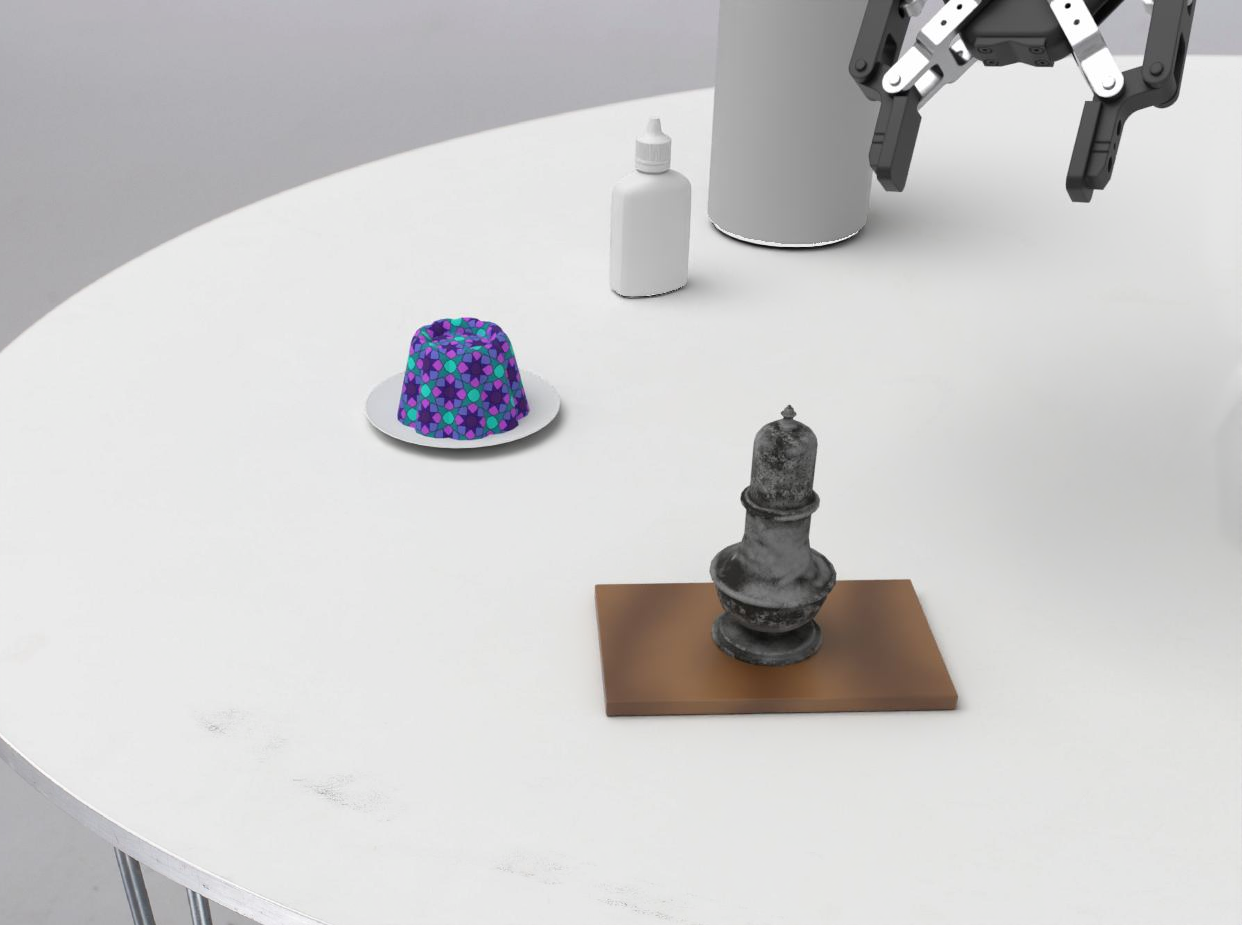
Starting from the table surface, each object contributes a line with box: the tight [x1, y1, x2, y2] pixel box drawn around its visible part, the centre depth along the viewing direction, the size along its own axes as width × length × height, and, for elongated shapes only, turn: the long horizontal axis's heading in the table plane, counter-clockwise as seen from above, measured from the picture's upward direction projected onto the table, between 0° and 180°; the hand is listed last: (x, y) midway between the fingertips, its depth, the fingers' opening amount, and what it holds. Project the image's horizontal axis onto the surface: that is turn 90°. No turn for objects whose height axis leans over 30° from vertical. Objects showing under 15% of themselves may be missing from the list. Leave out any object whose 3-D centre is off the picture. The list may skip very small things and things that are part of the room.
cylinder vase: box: [707, 0, 881, 244], centre depth 114 cm, size 12×12×25 cm
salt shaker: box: [709, 404, 838, 666], centre depth 70 cm, size 6×6×12 cm
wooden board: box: [594, 578, 959, 717], centre depth 74 cm, size 16×10×1 cm, turn 92°
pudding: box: [363, 316, 561, 449], centre depth 93 cm, size 12×12×5 cm
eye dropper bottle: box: [608, 115, 692, 297], centre depth 107 cm, size 4×6×12 cm
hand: (980, 190), depth 68 cm, fingers open, 8 cm apart
